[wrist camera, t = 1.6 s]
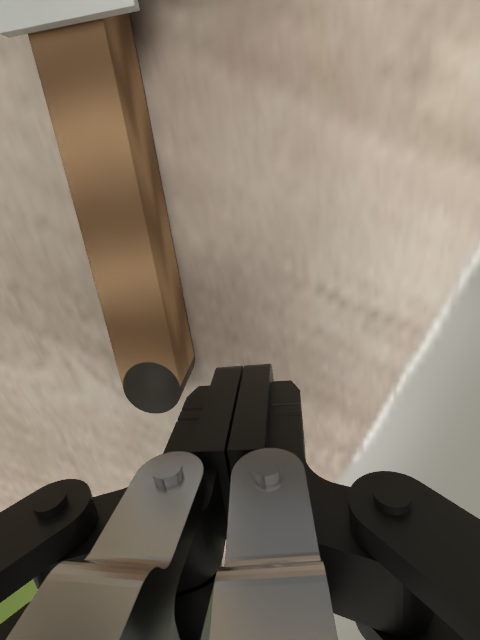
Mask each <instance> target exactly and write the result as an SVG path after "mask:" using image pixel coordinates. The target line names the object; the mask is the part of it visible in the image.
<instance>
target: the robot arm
mask: <svg viewBox="0 0 480 640" xmlns="http://www.w3.org/2000/svg"><path fill="white" fill-rule="evenodd" d="M226 539H227V541H226V555H225V565H224V567H223V562H222V558H223V553H224V546H225V540H226ZM32 579H33V580H34V582H35V584H36V586H37V589H38V591H37V593H36V594H35V596H34V597H33V599H32V600H31V601H30V602H29V603H27V604H26V605H25V606H23V607H22V608H21V609H20V610H18V611H17V612H16V613H14V614H13V615H12V616H10V617H9V618H8V619H7V620H5V621H4V622H3V623H1V624H0V640H338V637H337V631H336V626H335V620H334V615H333V613H335V614H337V615H340V616H343V617H345V618H348V619H350V620H353V621H355V622H356V624H357V627H358V629H359V630H360V633H361V634H362V636H363V637H364V638H365V639H366V640H480V519H478V518H477V517H475V516H474V515H472V514H470V513H469V512H467V511H466V510H464V509H462V508H460V507H459V506H458V505H456V504H454V503H453V502H451V501H450V500H448V499H446V498H445V497H443V496H442V495H440V494H439V493H437V492H435V491H434V490H432V489H431V488H429V487H427V486H426V485H424V484H423V483H421V482H420V481H418V480H416V479H414V478H412V477H410V476H407V475H404V474H401V473H397V472H390V471H380V472H373V473H369V474H366V475H364V476H362V477H360V478H359V479H357V480H356V481H355V482H354V483H353V485H352V486H351V487H348V486H344V485H339V484H336V483H332V482H329V481H327V480H325V479H323V478H321V477H319V476H318V475H317V474H315V473H314V472H313V471H312V470H311V469H310V468H309V466H308V465H307V463H306V458H305V444H304V432H303V420H302V409H301V398H300V390H299V389H298V388H297V387H296V385H295V384H294V383H293V382H292V381H275V382H274V381H273V373H272V366H271V364H262V365H247V366H244V367H243V366H234V367H219V368H216V370H215V373H214V376H213V379H212V382H211V385H210V386H199V387H198V388H196V389H195V390H194V391H193V392H192V393H191V394H190V395H189V396H188V397H187V398H186V401H185V403H184V406H183V408H182V411H181V413H180V415H179V417H178V422H176V425H175V427H174V429H173V432H172V434H171V436H170V439H169V441H168V443H167V446H166V448H165V451H164V453H163V454H162V455H159V456H157V457H155V458H153V459H151V460H149V461H148V462H146V463H145V464H144V465H143V466H142V467H141V468H140V469H139V470H138V471H137V473H136V474H135V476H134V478H133V480H132V481H131V483H130V485H129V486H128V487H127V488H124V489H121V490H118V491H114V492H111V493H107V494H103V495H100V496H96V497H92V494H91V491H90V488H89V486H88V485H87V484H86V483H85V482H83V481H81V480H77V479H66V480H61V481H57V482H54V483H51V484H48V485H46V486H44V487H42V488H40V489H39V490H37V491H35V492H34V493H32V494H30V495H29V496H27V497H25V498H24V499H22V500H20V501H19V502H17V503H15V504H14V505H12V506H10V507H9V508H7V509H5V510H4V511H2V512H0V603H1V602H2V601H3V600H5V599H6V598H7V597H9V596H10V595H11V594H13V593H14V592H15V591H17V590H18V589H20V588H21V587H22V586H24V585H25V584H26V583H28V582H29V581H31V580H32Z"/></svg>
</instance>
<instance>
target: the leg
mask: <svg viewBox="0 0 480 640" xmlns="http://www.w3.org/2000/svg"><path fill="white" fill-rule="evenodd" d="M28 36H29V39H30V43H31V47H32V51H33V54H34V58H35V62H36V65H37V69H38V73H39V77H40V80H41V84H42V88H43V91H44V95H45V99H46V103H47V106H48V110H49V114H50V117H51V121H52V125H53V129H54V132H55V136H56V140H57V144H58V147H59V151H60V155H61V158H62V162H63V166H64V170H65V173H66V177H67V181H68V184H69V188H70V192H71V196H72V199H73V203H74V207H75V210H76V214H77V218H78V222H79V225H80V229H81V233H82V237H83V240H84V244H85V248H86V251H87V255H88V259H89V263H90V266H91V270H92V274H93V277H94V281H95V285H96V289H97V292H98V296H99V300H100V303H101V307H102V311H103V315H104V318H105V322H106V326H107V330H108V333H109V337H110V341H111V344H112V348H113V352H114V356H115V359H116V363H117V367H118V370H119V374H120V378H121V382H122V385H123V389H124V392H125V395H126V397H127V398H128V400H129V401H130V402H131V403H132V404H133V405H134V406H135V407H137V408H138V409H140V410H142V411H145V412H149V413H163V412H166V411H169V410H170V409H172V408H173V407H174V406H175V405H176V404H177V403H178V401H179V399H180V396H181V394H182V392H183V390H184V387H185V385H186V383H187V380H188V378H189V376H190V374H191V371H192V369H193V367H194V362H195V358H194V352H193V347H192V342H191V336H190V331H189V326H188V321H187V315H186V310H185V305H184V299H183V294H182V289H181V284H180V278H179V273H178V268H177V263H176V257H175V252H174V247H173V242H172V236H171V231H170V226H169V221H168V215H167V210H166V205H165V200H164V194H163V189H162V184H161V178H160V173H159V168H158V163H157V157H156V152H155V147H154V142H153V136H152V131H151V126H150V121H149V115H148V110H147V105H146V100H145V94H144V89H143V84H142V78H141V73H140V68H139V63H138V57H137V52H136V47H135V42H134V36H133V31H132V26H131V21H130V15H129V13H126V14H121V15H116V16H112V17H107V18H102V19H97V20H92V21H87V22H82V23H77V24H72V25H68V26H63V27H58V28H53V29H48V30H43V31H38V32H33V33H29V34H28Z"/></svg>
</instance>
